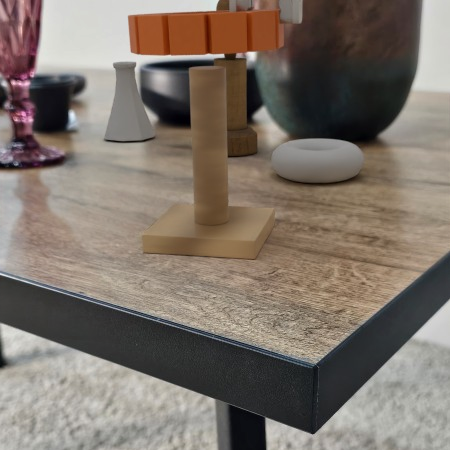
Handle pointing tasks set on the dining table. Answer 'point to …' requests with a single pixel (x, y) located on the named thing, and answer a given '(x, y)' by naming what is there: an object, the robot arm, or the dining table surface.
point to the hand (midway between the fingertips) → (266, 23)
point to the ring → (205, 32)
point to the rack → (209, 187)
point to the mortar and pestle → (236, 102)
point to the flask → (127, 108)
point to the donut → (317, 160)
